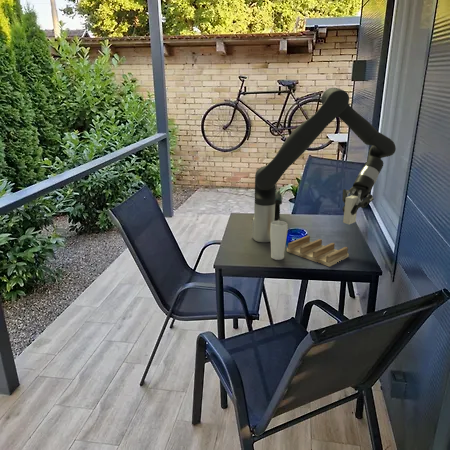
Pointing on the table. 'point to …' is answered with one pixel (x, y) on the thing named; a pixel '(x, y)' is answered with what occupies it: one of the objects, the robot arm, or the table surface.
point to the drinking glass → (278, 239)
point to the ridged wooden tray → (317, 251)
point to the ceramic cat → (277, 204)
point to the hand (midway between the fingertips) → (348, 212)
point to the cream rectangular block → (349, 210)
